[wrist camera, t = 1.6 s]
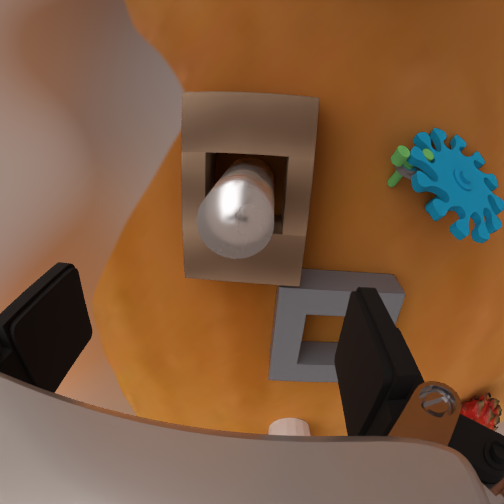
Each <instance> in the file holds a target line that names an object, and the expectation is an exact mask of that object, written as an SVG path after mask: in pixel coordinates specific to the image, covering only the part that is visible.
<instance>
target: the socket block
mask: <svg viewBox="0 0 504 504" xmlns="http://www.w3.org/2000/svg"><path fill="white" fill-rule="evenodd" d="M358 287H371V288H376V290H377V291H378V293H379V295H380V297H381V299H382V301H383V303H384V305H385V307H386V308H387V310H388V312H389V314H390V316H391V318H392V320H393V322H394V324H396V321H397V318H398V315H399V312H400V309H401V306H402V303H403V300H404V297H405V292H404V291H403V289H402V287H401V286H400V284H399V283H398V281H397V279H396V278H395V276H394V275H393V274H379V273H363V272H347V271H332V270H317V269H302V271H301V278H300V285H299V286H284V285H277V292H276V302H275V311H274V320H273V329H272V338H271V347H270V355H269V380H279V381H303V382H338V379H337V374H336V369H335V364H334V358H335V353H336V349H337V345H338V342H312V341H301V340H302V335H303V330H304V324H305V319H306V315H327V316H345V314H346V310H347V306H348V302H349V297H350V294H351V292H352V291H356V290H357V288H358Z"/></svg>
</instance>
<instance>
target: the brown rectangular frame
mask: <svg viewBox="0 0 504 504" xmlns="http://www.w3.org/2000/svg"><path fill="white" fill-rule="evenodd" d="M182 95H183V96H182V131H181V187H182V227H183V251H184V271H185V278H195V279H207V280H218V281H231V282H243V283H256V284H270V285H284V286H299V285H300V278H301V271H302V264H303V256H304V248H305V240H306V232H307V224H308V215H309V206H310V197H311V188H312V178H313V168H314V157H315V146H316V134H317V121H318V108H319V98H317V97H308V96H297V95H286V94H272V93H253V92H183V93H182ZM216 153H240V154H258V155H274V156H286V165H285V178H284V191H283V203H282V215H281V217H280V216H274V230H273V234H272V237H271V239H270V241H269V242H268V244H267V245H266V246H265V247H264V248H263V249H262V250H261V251H260V252H258V253H257V254H255V255H253V256H250V257H247V258H242V259H232V258H227V257H223V256H221V255H218V254H217V253H215V252H213V251H212V250H211V249H210V248H208V247H207V246H206V244H205V243H204V242H203V240H202V239H201V237H200V235H199V232H198V229H197V213H198V209H199V207H200V205H201V203H202V201H203V200H204V199H205V197H206V196H207V195H208V193H209V192H210V191H211V190H212V188H213V187H214V186H215V158H216Z"/></svg>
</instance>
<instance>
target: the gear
mask: <svg viewBox="0 0 504 504" xmlns="http://www.w3.org/2000/svg"><path fill="white" fill-rule="evenodd" d="M446 138H447V136H446V133H445V132H444V131H443V130H440V129H438V128H434V129H433V130H432V132H431V133H430V136H429V135H428V134H427V133H426V132H420V133H418V134H417V135H416V136H415V137H414V139H413V142H414V144H415V145H416V146H414V147H413V148H412V150H411V151H409V149H408V148H406V147H405V146H402V145H401V146H399V147H398V148H397V150H396V151H395V152H394V154H393V155H392V156H391V162H392V163H393V164H394V165H395V168H396V171H395V172H394V174H393V175H392V176H391V177H390V179H389V180H388V181H387V184H388V185H389V186H390V187H394V186H395V185H396V184H397V183H398V182H399V181H400V179H401V178H402V177H405V178H407V179H409V180H411V182H412V187H413V190H414V191H416V192H418V193H421V192H425V191H427V192H432V193H434V194H436V196H435V197H434V198H433V199H431V200H430V201H429V202H428V203H427V204H426V205H425V210H426V212H427V213H429V214H430V216H431V217H432V219H433V220H434V221H438V220H439V219H441V218H442V217H443V216H445V215H446V213H447V211H455V212H456V213H457V214H458V216H459V220H457V221H456V222H454V223H453V224H452V225H451V226H450V232H451V233H452V234H453V235H454V236H455V237H456V238H457V239H458V240H462V239H463V238H465V237H466V236H468V234H469V218H470V217H471V218H472V219H473V221H474V223H475V227H474V229H473V231H472V239H473V241H475V242H478V243H483V242H485V241H487V240H488V239H489V233H490V234H491V233H493V232H495V231H497V230H498V229H500V228H501V227H502V223H501V221H500V219H499V218H498V217H497V216H496V215H497V214H499V213H500V212H502V211H503V208H504V202H503V200H502V199H501V198H500V197H497V196H496V195H494V194H493V193H492V192H491V191H493V190H495V189H496V188H497V187H498V182H497V179H496V177H495V175H493V174H485V173H483V172H481V171H480V170H478V169H479V168H480V167H481V166H482V165H483V164H484V163H485V161H484V159H483V158H482V156H481V155H480V153H479V152H477V151H476V152H475V153H474V154H473V155H472V156H471V157H466V156H464V155H463V154H462V153H461V151H462V150H463V149H464V148H465V147H466V142H465V141H464V140H463V139H462V138H461V137H459V136H458V135H455V136H454V137H453V139H452V140H451V141H450V144H451V150H450V149H448V148H447V147H446V146H445V144H444V140H445V139H446ZM431 140H432V141H433V143H434V145H435V147H436V150H434V149H433V147H432V146H431ZM484 216H485V219H486V225H485V222H484Z"/></svg>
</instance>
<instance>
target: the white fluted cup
mask: <svg viewBox="0 0 504 504" xmlns="http://www.w3.org/2000/svg"><path fill="white" fill-rule="evenodd" d="M268 435H288V436H311V435H310V429H309V425H308V424H307V422H305V421H304V420H302V419H297V418H284V419H279V420H277V421H275V422H273V423H272V424H271V425H270V426H269V432H268Z"/></svg>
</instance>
